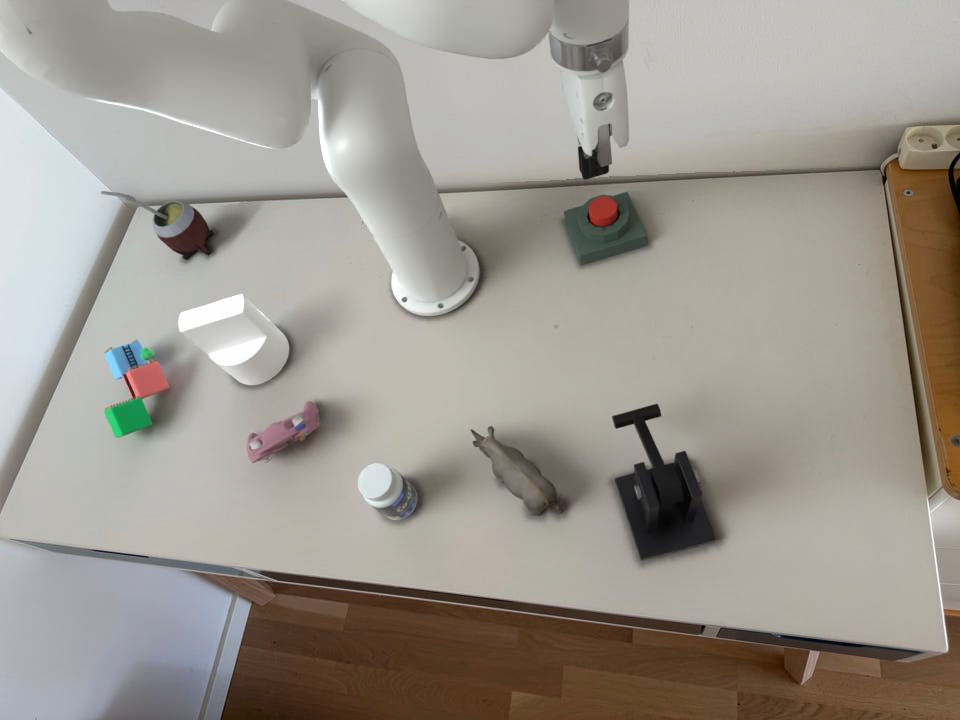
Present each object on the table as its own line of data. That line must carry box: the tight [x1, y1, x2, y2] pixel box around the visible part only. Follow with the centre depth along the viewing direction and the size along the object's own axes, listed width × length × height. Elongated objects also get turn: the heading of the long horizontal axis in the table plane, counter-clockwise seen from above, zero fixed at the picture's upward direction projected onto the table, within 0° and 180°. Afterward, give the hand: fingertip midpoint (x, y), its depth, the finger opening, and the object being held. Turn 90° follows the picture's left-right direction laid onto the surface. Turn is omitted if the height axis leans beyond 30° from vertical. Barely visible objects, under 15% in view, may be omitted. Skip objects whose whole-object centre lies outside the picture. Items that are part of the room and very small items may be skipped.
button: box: [589, 197, 617, 227], centre depth 85 cm, size 4×4×2 cm
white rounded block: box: [177, 293, 290, 386], centre depth 87 cm, size 9×9×12 cm
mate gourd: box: [100, 190, 215, 261], centre depth 98 cm, size 8×8×15 cm
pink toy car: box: [245, 400, 320, 464], centre depth 82 cm, size 10×5×7 cm, turn 118°
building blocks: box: [103, 338, 170, 439], centre depth 90 cm, size 8×8×12 cm
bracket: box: [614, 450, 717, 562], centre depth 66 cm, size 9×8×12 cm
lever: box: [611, 403, 684, 506], centre depth 66 cm, size 12×5×2 cm, turn 12°
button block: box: [563, 191, 648, 266], centre depth 87 cm, size 8×9×4 cm
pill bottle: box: [357, 462, 418, 521], centre depth 74 cm, size 5×5×8 cm
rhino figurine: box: [470, 425, 564, 517], centre depth 73 cm, size 4×14×6 cm, turn 41°
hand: (594, 171), depth 78 cm, fingers closed
